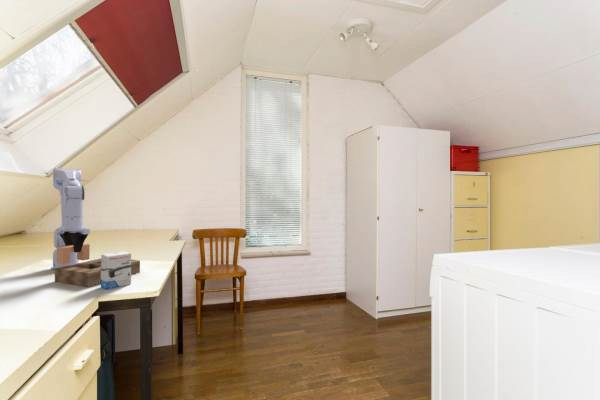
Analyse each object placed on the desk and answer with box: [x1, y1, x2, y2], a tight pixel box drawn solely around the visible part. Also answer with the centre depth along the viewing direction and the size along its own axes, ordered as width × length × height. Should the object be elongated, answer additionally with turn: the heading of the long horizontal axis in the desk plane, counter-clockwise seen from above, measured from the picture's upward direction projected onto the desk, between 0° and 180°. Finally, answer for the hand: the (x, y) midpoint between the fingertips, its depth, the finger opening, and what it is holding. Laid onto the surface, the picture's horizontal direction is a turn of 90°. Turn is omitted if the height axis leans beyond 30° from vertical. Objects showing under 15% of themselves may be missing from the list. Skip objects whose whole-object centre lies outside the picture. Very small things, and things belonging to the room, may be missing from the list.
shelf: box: [54, 258, 141, 288], centre depth 123 cm, size 18×22×5 cm
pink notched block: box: [56, 243, 90, 264], centre depth 120 cm, size 4×10×6 cm, turn 160°
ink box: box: [100, 250, 132, 290], centre depth 112 cm, size 8×5×12 cm, turn 143°
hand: (74, 251), depth 120 cm, fingers closed on pink notched block, 3 cm apart
